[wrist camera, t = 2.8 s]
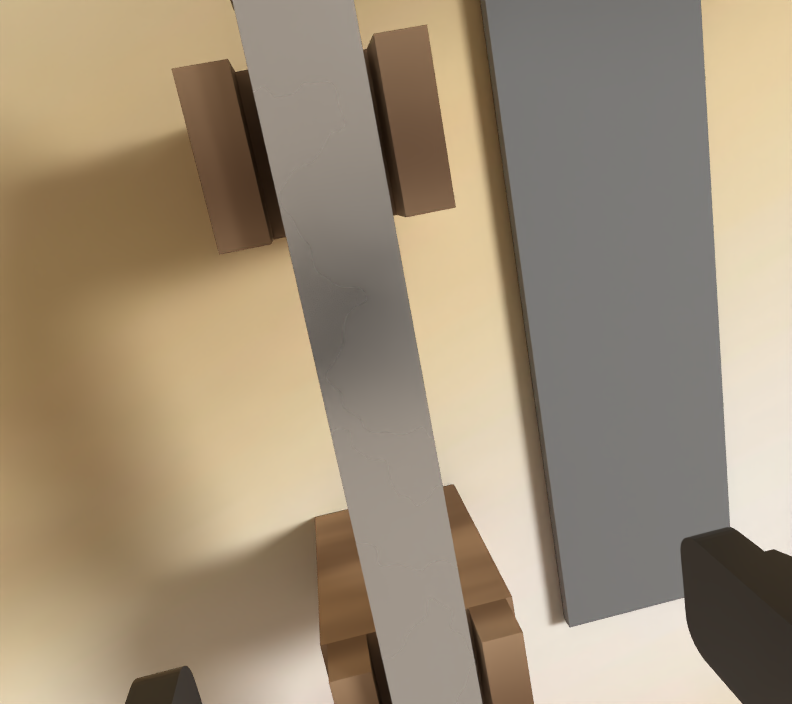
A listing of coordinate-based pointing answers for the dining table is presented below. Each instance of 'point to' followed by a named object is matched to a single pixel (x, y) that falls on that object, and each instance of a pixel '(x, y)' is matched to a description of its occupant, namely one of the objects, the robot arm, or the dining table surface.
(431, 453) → the rail
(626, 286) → the mat
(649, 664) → the dining table surface
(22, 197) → the dining table surface
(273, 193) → the post
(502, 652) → the post
